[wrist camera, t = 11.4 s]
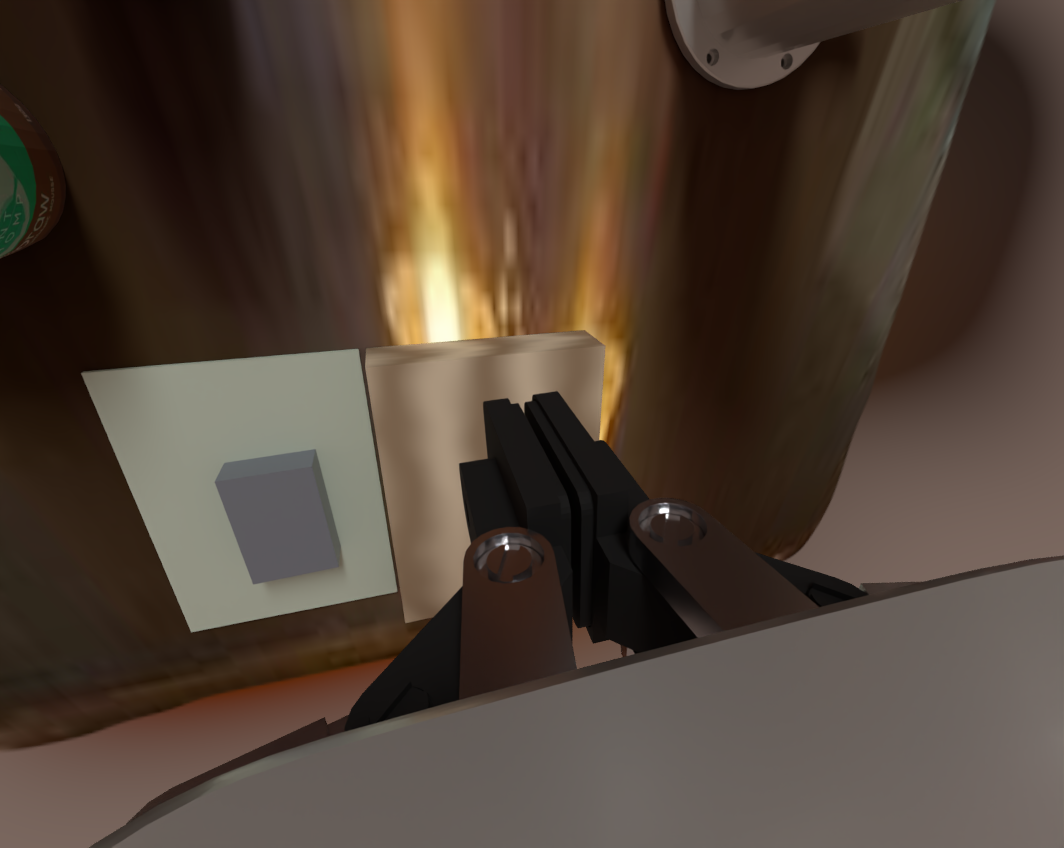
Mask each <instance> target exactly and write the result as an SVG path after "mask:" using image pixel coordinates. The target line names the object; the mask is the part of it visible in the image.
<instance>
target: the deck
mask: <svg viewBox="0 0 1064 848" xmlns="http://www.w3.org/2000/svg"><path fill="white" fill-rule="evenodd" d="M604 358H605V345H603V344H602V343H601V342H599V341H598V340H597V339H595V338H594V337H593V336H591V335H590V334H589V333H587V332H586V331H585V330H583V331H570V332H558V333H546V334H534V335H522V336H509V337H497V338H485V339H473V340H461V341H449V342H436V343H424V344H412V345H400V346H388V347H375V348H366V365H365V368H366V375H367V381H368V387H369V394H370V400H371V407H372V413H373V419H374V426H375V432H376V438H377V445H378V451H379V457H380V464H381V470H382V477H383V483H384V489H385V496H386V502H387V508H388V515H389V521H390V527H391V534H392V540H393V547H394V553H395V559H396V566H397V572H398V578H399V585H400V591H401V597H402V604H403V610H404V616H405V623H408V622H413V621H418V620H423V619H427V618H432V617H434V616H435V615H436V614H437V613H438V612H439V611H440V610H441V609H442V607H443V606H444V605H445V604H446V603H447V602H448V601H449V600H450V599H451V598H452V597H453V596H454V595H455V593H456V592H457V591H458V590H459V589H460V588H461V587H462V586H463V560H464V556H465V552H466V550H467V549H468V547H469V546H470V544H471V542H470V537H469V532H468V527H467V522H466V516H465V510H464V503H463V496H462V488H461V480H460V472H459V463H463V462H469V461H475V460H482V459H488V457H487V446H486V435H485V424H484V413H483V402H484V401H490V400H497V399H504V398H508V399H509V400H510V402H511V404H515V403H519V405H520V407H521V409H522V410H523V412H524V403H525V402H529V401H532V396H533V395H534V394H540V393H547V392H555V391H558V392H559V393H560V395H561V396H562V398H563V399H564V400H565V402H566V403H567V404H568V406H569V407H570V409H571V410H572V411H573V413H574V414H575V415H576V417H577V418H578V420H579V421H580V422H581V424H582V425H583V426H584V428H585V429H586V430H587V432H588V433H589V435H590V436H591V437H592V439H593V440H594V441H599V433H600V418H601V403H602V388H603V373H604Z"/></svg>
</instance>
